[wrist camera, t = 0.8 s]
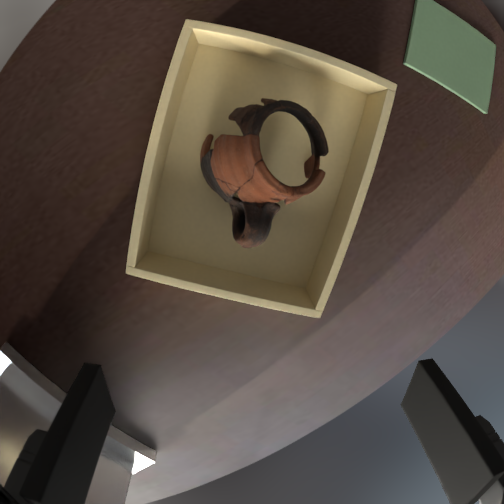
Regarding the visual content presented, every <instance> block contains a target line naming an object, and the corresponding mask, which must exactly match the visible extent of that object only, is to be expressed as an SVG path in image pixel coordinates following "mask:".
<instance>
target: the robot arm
mask: <svg viewBox="0 0 504 504" xmlns="http://www.w3.org/2000/svg"><path fill="white" fill-rule="evenodd" d="M401 406H402V408H403V410H404V412H405V414H406V416H407V418H408V420H409V422H410V423H411V425H412V427H413V429H414V431H415V433H416V435H417V437H418V439H419V441H420V443H421V445H422V447H423V449H424V450H425V453H426V454H427V457H428V458H429V460H430V463H431V465H432V467H433V469H434V471H435V473H436V475H437V477H438V479H439V481H440V483H441V485H442V487H443V489H444V491H445V493H446V496H447V498H448V500H449V502H450V504H474V503H475V502H476V501H478V500H479V502H480V504H504V443H503V441H502V440H501V439H500V437H499V435H498V434H497V433H495V430H494V428H493V427H492V426H491V424H490V422H488V421H487V420H486V419H484V418H483V417H482V416H481V415H479V416H476V417H475V416H474V415H473V413H472V412H471V411H470V409H469V408H468V406H467V405H466V403H465V402H464V401H463V399H462V398H461V396H460V395H459V394H458V392H457V391H456V389H455V388H454V387H453V385H452V384H451V383H450V381H449V380H448V379H447V377H446V376H445V375H444V373H443V372H442V371H441V369H440V368H439V367H438V365H437V364H436V363H435V361H434V360H433V359H426V360H421V361H418V364H417V367H416V369H415V372H414V374H413V377H412V379H411V382H410V385H409V387H408V389H407V392H406V394H405V396H404V399H403V401H402V403H401ZM114 414H115V408H114V405H113V402H112V399H111V396H110V393H109V390H108V387H107V384H106V381H105V378H104V374H103V371H102V368H101V365H97V364H89V363H84V364H83V366H82V368H81V370H80V371H79V373H78V375H77V377H76V379H75V380H74V382H73V384H72V386H71V388H70V389H69V391H68V393H67V395H66V397H65V399H64V401H63V402H62V404H61V406H60V408H59V410H58V412H57V414H56V416H55V418H54V420H53V422H52V424H51V426H50V428H49V430H48V432H47V431H43V430H40V429H37V430H35V431H34V432H33V433H32V434H31V435H30V436H29V437H28V438H27V440H26V442H25V444H24V446H23V450H21V452H20V454H19V458H17V460H16V462H15V464H14V466H13V468H12V470H11V472H10V474H9V476H8V479H7V481H6V483H5V485H4V487H3V486H2V485H1V484H0V504H85V501H86V498H87V495H88V491H89V488H90V485H91V482H92V479H93V475H94V472H95V469H96V466H97V463H98V460H99V457H100V454H101V451H102V448H103V445H104V442H105V439H106V436H107V433H108V431H109V428H110V425H111V422H112V419H113V417H114Z"/></svg>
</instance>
